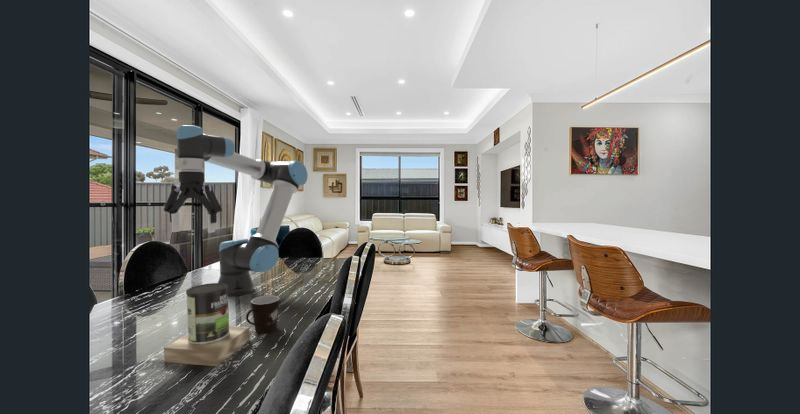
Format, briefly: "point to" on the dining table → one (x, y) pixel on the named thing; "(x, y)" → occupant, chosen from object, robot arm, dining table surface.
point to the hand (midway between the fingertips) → (193, 232)
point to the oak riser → (206, 349)
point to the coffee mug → (264, 313)
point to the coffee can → (207, 313)
